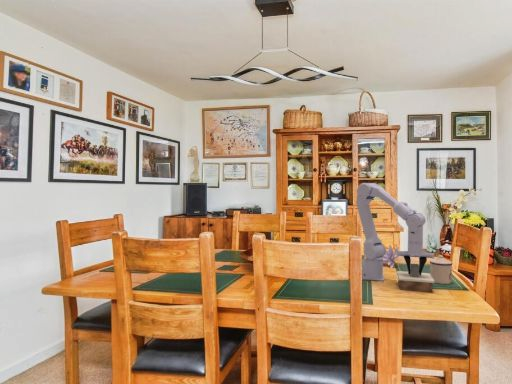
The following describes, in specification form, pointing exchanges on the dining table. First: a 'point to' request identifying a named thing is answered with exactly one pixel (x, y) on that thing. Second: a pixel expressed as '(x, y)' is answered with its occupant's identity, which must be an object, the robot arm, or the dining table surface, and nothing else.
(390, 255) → the water lily
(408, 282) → the walnut box
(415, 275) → the cream lid
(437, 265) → the teacup with lid
